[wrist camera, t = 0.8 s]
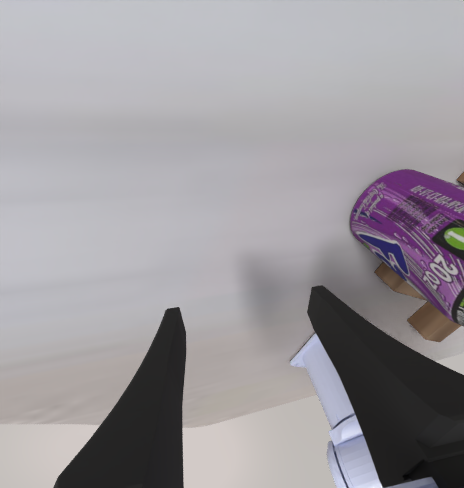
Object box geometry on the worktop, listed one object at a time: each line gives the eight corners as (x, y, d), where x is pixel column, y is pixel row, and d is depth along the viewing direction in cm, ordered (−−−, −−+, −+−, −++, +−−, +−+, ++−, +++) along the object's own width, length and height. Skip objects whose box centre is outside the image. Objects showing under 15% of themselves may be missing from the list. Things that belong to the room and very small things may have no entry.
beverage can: (338, 192, 20) (488, 293, 10) (421, 150, 19) (680, 215, 9) (352, 250, 24) (469, 365, 14) (421, 218, 23) (602, 317, 13)
